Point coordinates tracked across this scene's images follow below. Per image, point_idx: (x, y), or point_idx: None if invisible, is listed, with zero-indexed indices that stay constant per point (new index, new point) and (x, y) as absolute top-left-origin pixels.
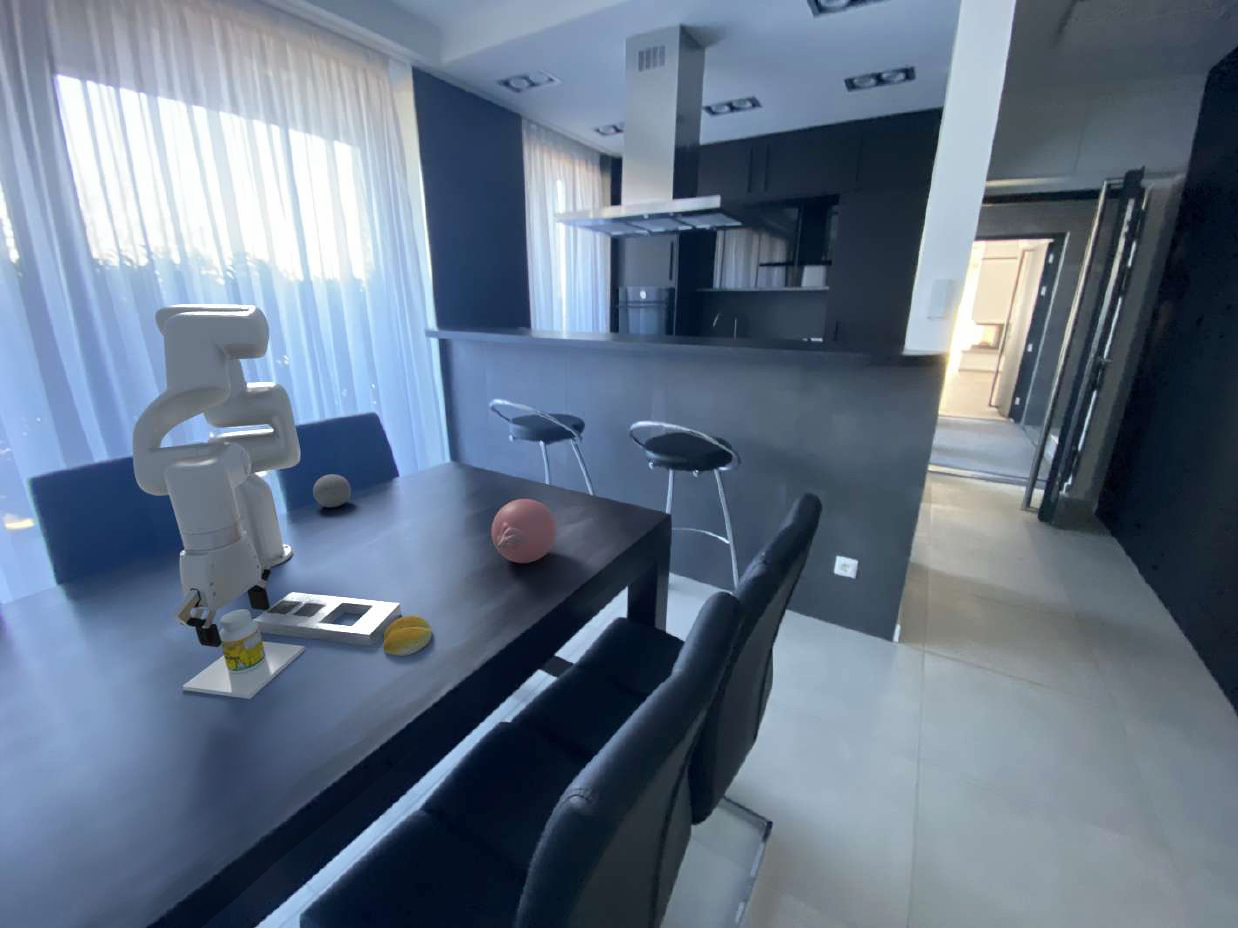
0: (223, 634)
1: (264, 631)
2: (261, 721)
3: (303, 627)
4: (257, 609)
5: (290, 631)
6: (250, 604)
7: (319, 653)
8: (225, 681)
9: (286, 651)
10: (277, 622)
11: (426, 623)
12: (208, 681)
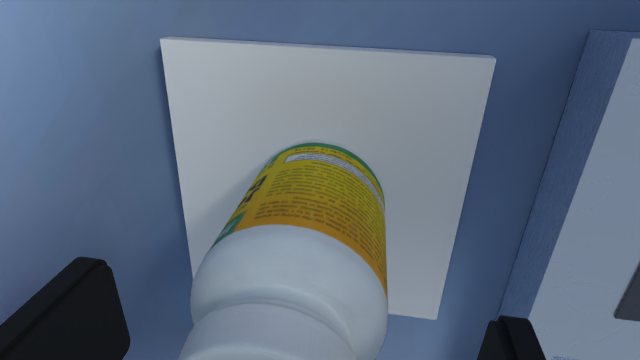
0: (198, 304)
1: (574, 97)
2: (151, 340)
3: (526, 316)
4: (479, 352)
5: (535, 240)
6: (503, 347)
7: (415, 351)
8: (223, 184)
9: (403, 281)
10: (584, 198)
11: None
12: (207, 125)
